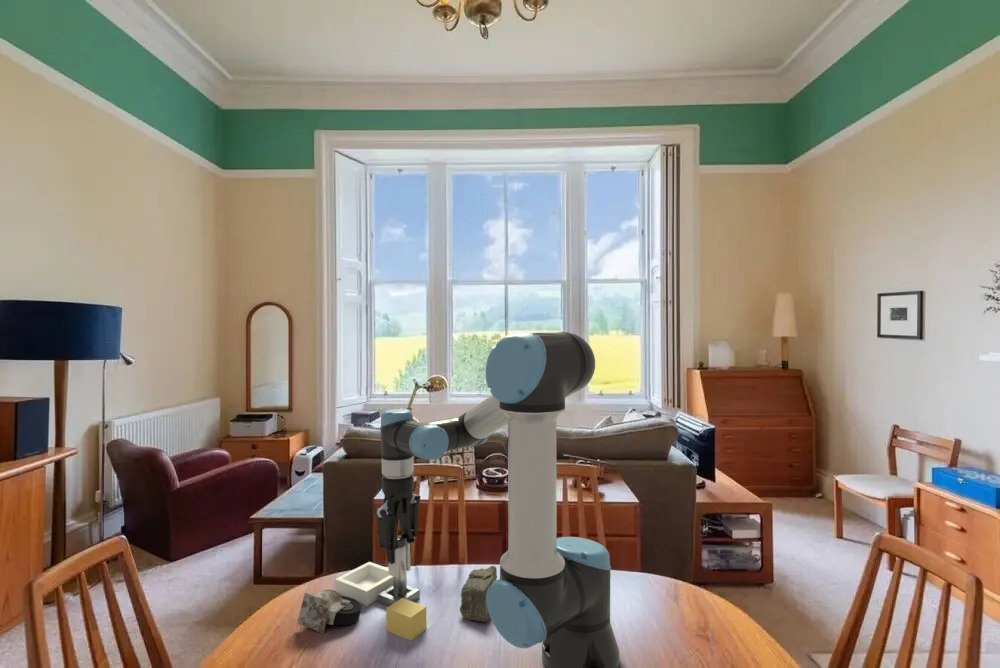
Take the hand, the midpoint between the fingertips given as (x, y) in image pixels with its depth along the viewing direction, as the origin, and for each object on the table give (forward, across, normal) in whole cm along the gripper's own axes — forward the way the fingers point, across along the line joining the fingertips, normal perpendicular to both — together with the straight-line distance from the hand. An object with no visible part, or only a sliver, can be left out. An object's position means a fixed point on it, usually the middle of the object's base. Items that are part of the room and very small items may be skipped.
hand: (399, 572), depth 126 cm
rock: (+8, -8, +17) cm, 21 cm away
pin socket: (+7, 0, -1) cm, 7 cm away
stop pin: (+5, 0, 0) cm, 5 cm away
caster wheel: (+7, +14, -7) cm, 17 cm away
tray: (+7, 0, -11) cm, 13 cm away
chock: (+7, +8, +9) cm, 14 cm away
